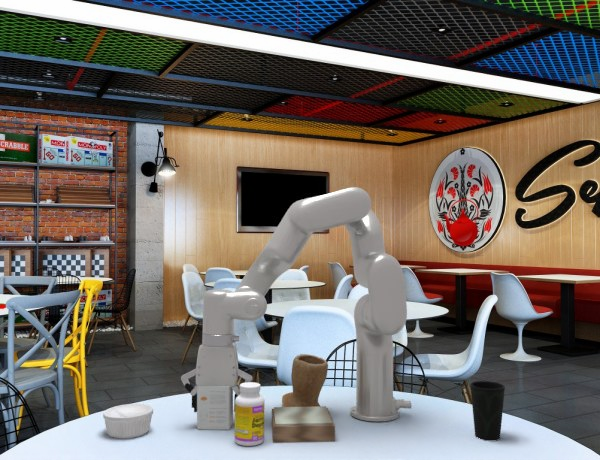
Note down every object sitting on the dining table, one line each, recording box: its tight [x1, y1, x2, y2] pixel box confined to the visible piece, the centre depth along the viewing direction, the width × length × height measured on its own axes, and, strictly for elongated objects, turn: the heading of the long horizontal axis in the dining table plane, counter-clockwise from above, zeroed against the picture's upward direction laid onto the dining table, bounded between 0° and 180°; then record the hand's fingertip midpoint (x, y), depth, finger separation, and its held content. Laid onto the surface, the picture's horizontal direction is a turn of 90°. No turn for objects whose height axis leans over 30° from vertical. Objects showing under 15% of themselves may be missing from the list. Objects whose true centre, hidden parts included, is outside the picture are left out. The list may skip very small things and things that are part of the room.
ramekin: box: [102, 403, 154, 440], centre depth 136 cm, size 11×11×5 cm
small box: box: [196, 386, 234, 431], centre depth 140 cm, size 8×6×10 cm
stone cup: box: [281, 353, 329, 407], centre depth 153 cm, size 15×12×15 cm
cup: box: [469, 380, 506, 441], centre depth 134 cm, size 8×8×12 cm
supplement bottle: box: [234, 381, 265, 447], centre depth 130 cm, size 7×7×13 cm
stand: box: [271, 405, 336, 443], centre depth 137 cm, size 14×14×4 cm
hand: (216, 410), depth 140 cm, fingers open, 9 cm apart
